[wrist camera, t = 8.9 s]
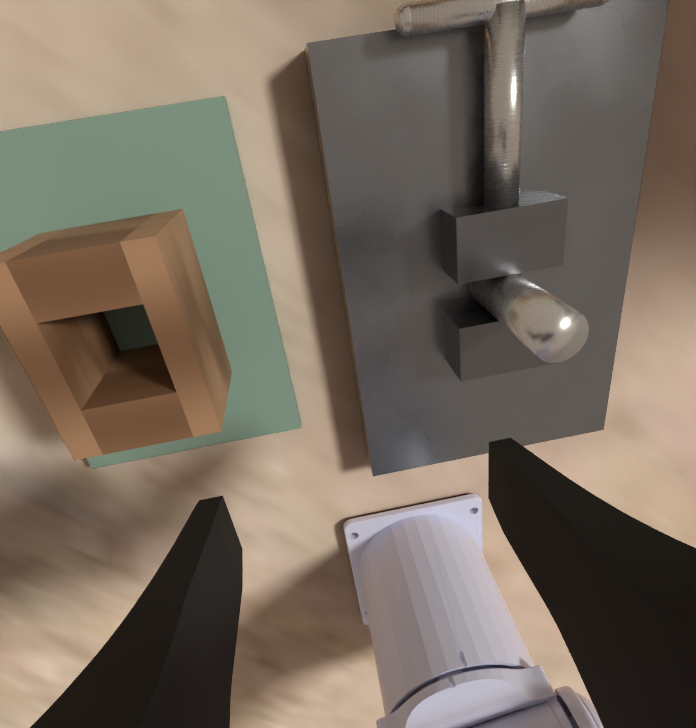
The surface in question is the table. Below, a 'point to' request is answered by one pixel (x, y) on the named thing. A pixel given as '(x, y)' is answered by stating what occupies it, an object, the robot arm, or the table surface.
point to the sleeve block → (97, 343)
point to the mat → (154, 195)
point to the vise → (485, 214)
